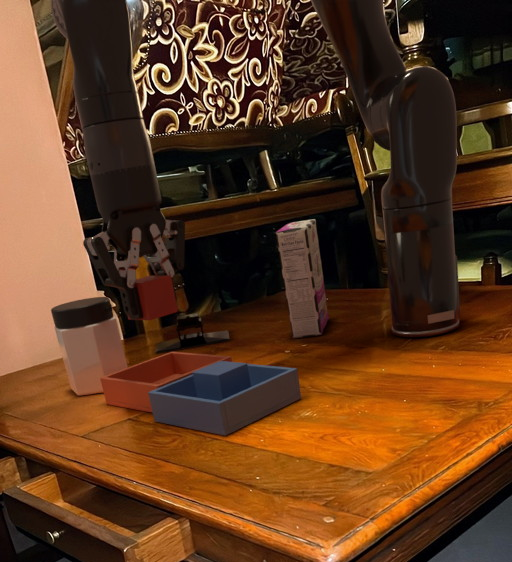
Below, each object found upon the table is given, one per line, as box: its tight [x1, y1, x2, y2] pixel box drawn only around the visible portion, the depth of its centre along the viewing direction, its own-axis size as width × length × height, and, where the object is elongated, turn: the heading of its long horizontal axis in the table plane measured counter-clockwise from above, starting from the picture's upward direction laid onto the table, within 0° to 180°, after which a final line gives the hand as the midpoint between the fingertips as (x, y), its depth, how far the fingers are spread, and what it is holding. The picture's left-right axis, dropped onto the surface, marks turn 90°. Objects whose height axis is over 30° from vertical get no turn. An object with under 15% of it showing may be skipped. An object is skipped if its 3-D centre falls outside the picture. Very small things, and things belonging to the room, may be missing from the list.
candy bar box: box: [275, 218, 330, 339], centre depth 109 cm, size 11×5×16 cm, turn 168°
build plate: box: [154, 312, 231, 355], centre depth 117 cm, size 12×7×5 cm, turn 94°
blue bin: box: [148, 363, 302, 437], centre depth 79 cm, size 12×12×4 cm
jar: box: [50, 296, 129, 396], centre depth 98 cm, size 9×8×12 cm
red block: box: [127, 275, 179, 321], centre depth 86 cm, size 4×4×4 cm
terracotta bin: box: [100, 351, 233, 414], centre depth 90 cm, size 12×12×4 cm
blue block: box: [192, 361, 251, 401], centre depth 79 cm, size 4×4×4 cm
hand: (153, 312), depth 86 cm, fingers closed on red block, 4 cm apart
